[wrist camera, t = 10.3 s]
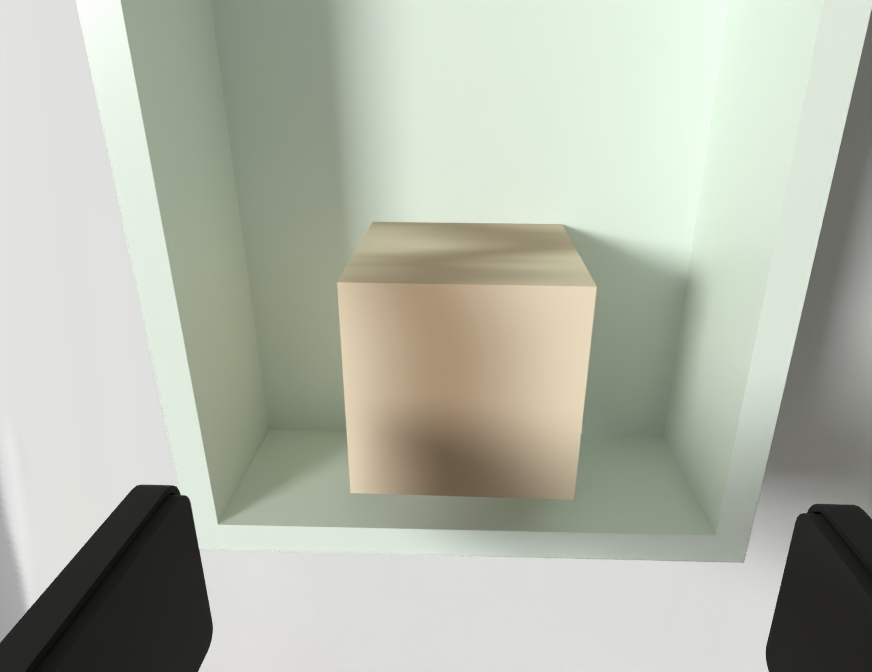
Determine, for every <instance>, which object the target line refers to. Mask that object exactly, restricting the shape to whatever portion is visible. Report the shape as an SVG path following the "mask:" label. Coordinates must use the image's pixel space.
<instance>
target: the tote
mask: <svg viewBox="0 0 872 672" xmlns="http://www.w3.org/2000/svg"><path fill="white" fill-rule="evenodd" d="M76 4H77V9H78V13H79V18H80V23H81V28H82V32H83V37H84V42H85V47H86V51H87V56H88V61H89V65H90V70H91V75H92V80H93V84H94V89H95V94H96V99H97V103H98V108H99V113H100V118H101V122H102V127H103V132H104V137H105V141H106V146H107V151H108V156H109V160H110V165H111V170H112V175H113V179H114V184H115V189H116V194H117V198H118V203H119V208H120V213H121V217H122V222H123V227H124V231H125V236H126V241H127V246H128V250H129V255H130V260H131V265H132V269H133V274H134V279H135V284H136V288H137V293H138V298H139V303H140V307H141V312H142V317H143V322H144V326H145V331H146V336H147V341H148V345H149V350H150V355H151V360H152V364H153V369H154V374H155V379H156V383H157V388H158V393H159V397H160V402H161V407H162V412H163V416H164V421H165V426H166V431H167V435H168V440H169V445H170V450H171V454H172V459H173V464H174V469H175V473H176V478H177V483H178V488H179V491H180V494H181V495H186V496H188V498H189V499H190V502H191V507H192V513H193V518H194V524H195V529H196V535H197V540H198V546H199V550H236V551H278V552H320V553H362V554H404V555H445V556H487V557H529V558H571V559H612V560H654V561H696V562H738V563H744V560H745V556H746V552H747V547H748V543H749V539H750V534H751V530H752V526H753V521H754V517H755V513H756V508H757V504H758V500H759V495H760V491H761V487H762V482H763V478H764V474H765V469H766V465H767V461H768V456H769V452H770V448H771V443H772V439H773V435H774V430H775V426H776V422H777V417H778V413H779V409H780V404H781V400H782V396H783V391H784V387H785V383H786V378H787V374H788V370H789V365H790V361H791V357H792V352H793V348H794V344H795V339H796V335H797V331H798V326H799V322H800V318H801V313H802V309H803V305H804V300H805V296H806V292H807V287H808V283H809V279H810V274H811V270H812V266H813V261H814V257H815V252H816V248H817V244H818V239H819V235H820V231H821V226H822V222H823V218H824V213H825V209H826V205H827V200H828V196H829V192H830V187H831V183H832V179H833V174H834V170H835V166H836V161H837V157H838V153H839V148H840V144H841V140H842V135H843V131H844V127H845V122H846V118H847V114H848V109H849V105H850V101H851V96H852V92H853V88H854V83H855V79H856V75H857V70H858V66H859V62H860V57H861V53H862V49H863V44H864V40H865V36H866V31H867V27H868V23H869V18H870V14H871V10H872V0H76ZM372 222H430V223H512V224H562V225H563V227H564V228H565V230H566V232H567V234H568V236H569V237H570V239H571V241H572V243H573V245H574V246H575V248H576V250H577V252H578V254H579V255H580V257H581V259H582V261H583V263H584V264H585V266H586V268H587V270H588V272H589V273H590V275H591V277H592V279H593V281H594V282H595V284H596V286H597V290H596V299H595V308H594V318H593V327H592V336H591V346H590V355H589V364H588V374H587V383H586V393H585V402H584V411H583V421H582V430H581V439H580V449H579V458H578V467H577V477H576V486H575V495H574V500H561V499H529V498H496V497H464V496H432V495H399V494H367V493H350V477H349V462H348V446H347V430H346V415H345V399H344V383H343V368H342V352H341V337H340V321H339V305H338V290H337V282H338V280H339V278H340V276H341V275H342V273H343V271H344V270H345V268H346V266H347V265H348V263H349V261H350V259H351V258H352V256H353V254H354V253H355V251H356V249H357V248H358V246H359V244H360V242H361V241H362V239H363V237H364V236H365V234H366V232H367V231H368V229H369V227H370V225H371V224H372Z"/></svg>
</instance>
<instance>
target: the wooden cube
mask: <svg viewBox="0 0 872 672" xmlns="http://www.w3.org/2000/svg"><path fill="white" fill-rule="evenodd" d="M337 290H338V305H339V321H340V337H341V352H342V368H343V383H344V399H345V415H346V430H347V446H348V462H349V477H350V493H367V494H399V495H432V496H464V497H496V498H529V499H561V500H574V495H575V486H576V477H577V467H578V458H579V449H580V439H581V430H582V421H583V411H584V402H585V393H586V383H587V374H588V364H589V355H590V346H591V336H592V327H593V318H594V308H595V299H596V290H597V286H596V284H595V282H594V281H593V279H592V277H591V275H590V273H589V272H588V270H587V268H586V266H585V264H584V263H583V261H582V259H581V257H580V255H579V254H578V252H577V250H576V248H575V246H574V245H573V243H572V241H571V239H570V237H569V236H568V234H567V232H566V230H565V228H564V227H563V225H562V224H512V223H430V222H372V224H371V225H370V227H369V229H368V231H367V232H366V234H365V236H364V237H363V239H362V241H361V242H360V244H359V246H358V248H357V249H356V251H355V253H354V254H353V256H352V258H351V259H350V261H349V263H348V265H347V266H346V268H345V270H344V271H343V273H342V275H341V276H340V278H339V280H338V282H337Z"/></svg>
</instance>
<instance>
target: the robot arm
mask: <svg viewBox="0 0 872 672" xmlns="http://www.w3.org/2000/svg"><path fill="white" fill-rule="evenodd" d="M212 632H213V625H212V618H211V613H210V607H209V601H208V596H207V590H206V585H205V579H204V574H203V568H202V563H201V557H200V551H199V546H198V540H197V535H196V529H195V524H194V518H193V513H192V507H191V502H190V499H189V498H188V496H186V495H181V494H180V491H179V490H178V488H177V487H175V486H170V485H138V486H136V487H135V488H133V489H132V490H131V491H130V493H129V494H128V495H127V496H126V497H125V498H124V500H123V501H122V502H121V503H120V504H119V505H118V507H117V508H116V509H115V510H114V511H113V512H112V513H111V515H110V516H109V517H108V518H107V519H106V520H105V522H104V523H103V524H102V525H101V526H100V527H99V529H98V530H97V531H96V532H95V533H94V534H93V536H92V537H91V538H90V539H89V540H88V541H87V543H86V544H85V545H84V546H83V547H82V548H81V550H80V551H79V552H78V553H77V554H76V555H75V557H74V558H73V559H72V560H71V561H70V562H69V564H68V565H67V566H66V567H65V568H64V569H63V570H62V572H61V573H60V574H59V575H58V576H57V577H56V579H55V580H54V581H53V582H52V583H51V584H50V586H49V587H48V588H47V589H46V590H45V591H44V593H43V594H42V595H41V596H40V597H39V598H38V600H37V601H36V602H35V603H34V604H33V605H32V607H31V608H30V609H29V610H28V611H27V612H26V614H25V615H24V616H23V617H22V618H21V619H20V620H19V622H18V623H17V624H16V625H15V626H14V628H13V629H12V630H11V631H10V632H9V633H8V634H7V636H6V637H5V638H4V639H3V640H2V642H1V643H0V672H198V670H199V668H200V666H201V664H202V662H203V660H204V658H205V656H206V654H207V652H208V649H209V647H210V643H211V639H212ZM766 661H767V666H768V670H769V672H872V519H871V518H870V517H869V516H868V515H867V514H866V512H865V511H864V510H862V509H861V508H860V507H859V506H855V505H837V504H815V505H812V506H811V507H810V508H809V510H808V512H807V514H805V513H803V514H800V515H799V516H798V517H797V520H796V522H795V527H794V531H793V535H792V539H791V544H790V548H789V552H788V557H787V561H786V565H785V569H784V574H783V578H782V582H781V586H780V591H779V595H778V599H777V603H776V608H775V612H774V616H773V620H772V625H771V629H770V633H769V637H768V642H767V646H766Z"/></svg>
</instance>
